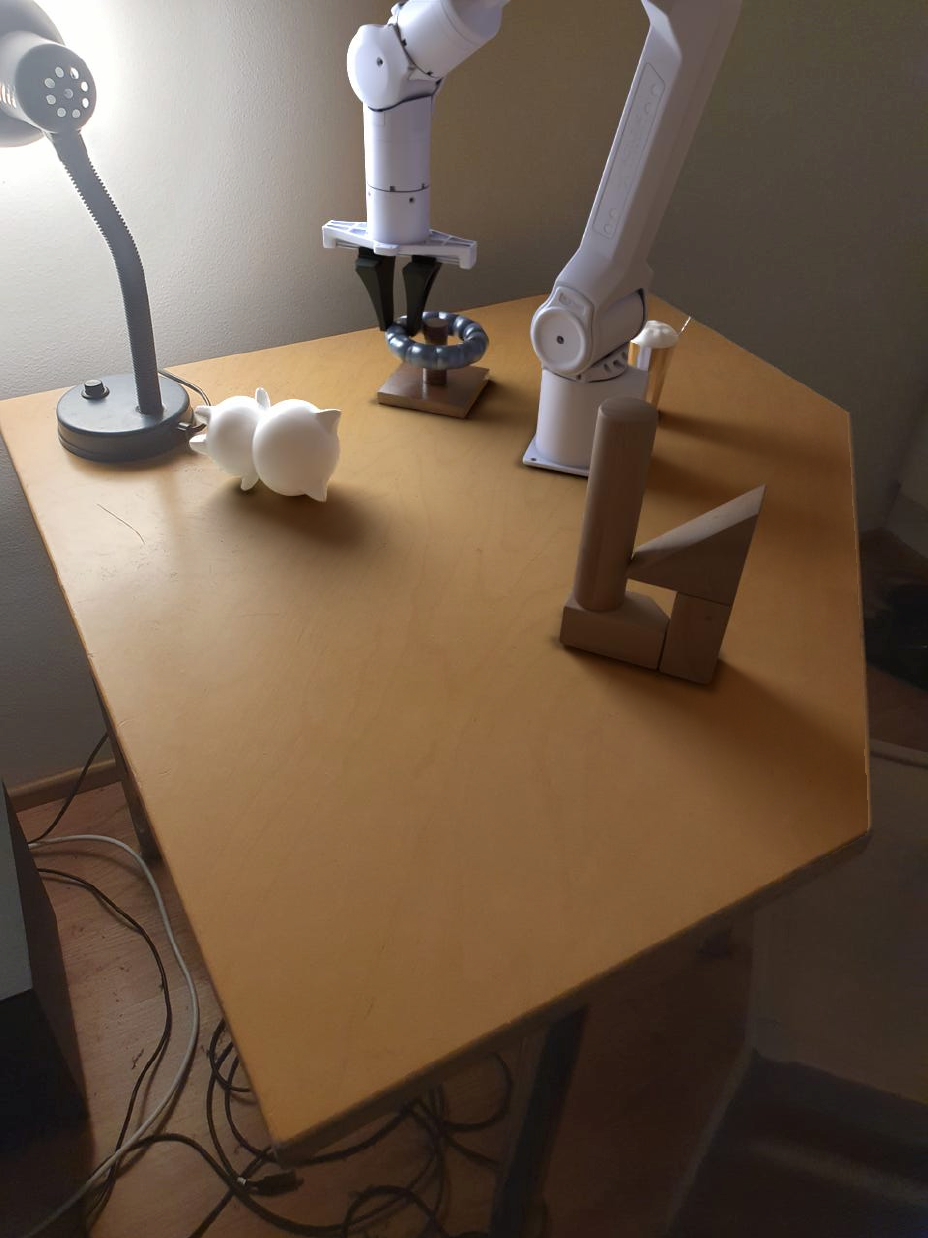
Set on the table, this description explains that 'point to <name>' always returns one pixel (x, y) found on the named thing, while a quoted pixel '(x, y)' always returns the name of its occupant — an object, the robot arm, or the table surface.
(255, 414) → the cat figurine
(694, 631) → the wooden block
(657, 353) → the milkshake
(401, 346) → the ring
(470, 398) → the stand
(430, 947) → the table surface
